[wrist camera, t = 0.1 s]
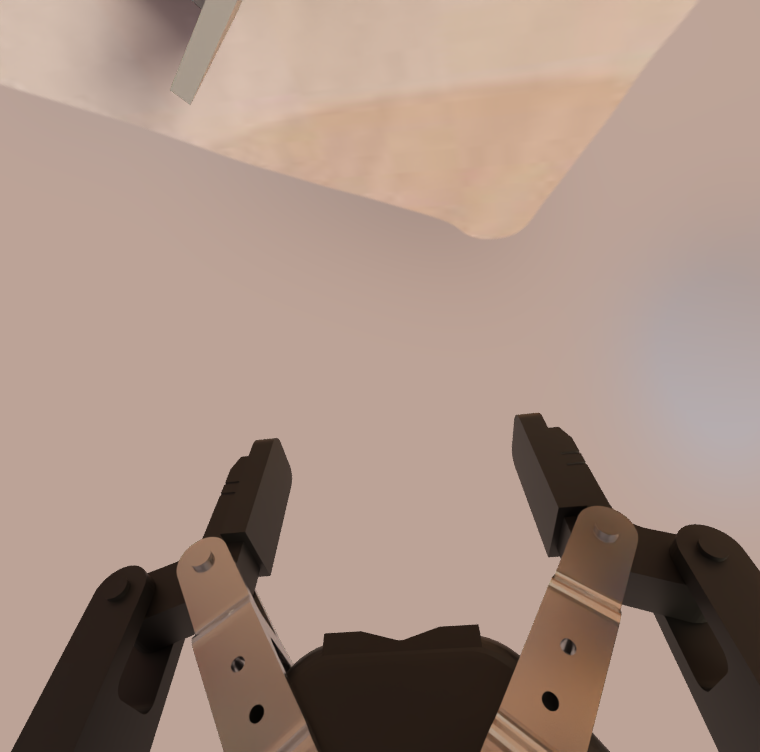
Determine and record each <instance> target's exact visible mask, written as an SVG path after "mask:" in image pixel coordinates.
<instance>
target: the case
mask: <svg viewBox="0 0 760 752" xmlns="http://www.w3.org/2000/svg"><path fill="white" fill-rule="evenodd" d="M191 1H192V2H194V3H195V4H196V5H197V6H198V7H199V8H200V9H202V10H201V13H200V16H199V18H198V21H197V23H196V26H195V28H194V31H193V33H192V36H191V38H190V41H189V43H188V46H187V48H186V51H185V53H184V56H183V58H182V61H181V63H180V66H179V68H178V71H177V73H176V76H175V78H174V81H173V83H172V86H171V88H170V91H172V92H173V93H174V94H176V95H177V96H179V97H180V98H181V99H183V100H184V101H185V102H187V103H188V104H189V105H191V103H192V101H193V99H194V97H195V95H196V93H197V91H198V89H199V87H200V85H201V83H202V81H203V79H204V77H205V75H206V73H207V71H208V69H209V67H210V65H211V63H212V61H213V59H214V57H215V55H216V53H217V51H218V49H219V47H220V45H221V43H222V41H223V39H224V38H225V36H226V34H227V32H228V30H229V28H230V26H231V24H232V22H233V20H234V18H235V15H236V13H237V11H238V9H239V7H240V4H241V2H242V0H191Z"/></svg>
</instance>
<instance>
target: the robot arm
mask: <svg viewBox="0 0 760 752" xmlns="http://www.w3.org/2000/svg"><path fill="white" fill-rule="evenodd" d="M512 456H513V461H514V465H515V468H516V470H517V473H518V476H519V479H520V481H521V484H522V487H523V489H524V492H525V495H526V498H527V501H528V503H529V506H530V509H531V511H532V514H533V517H534V520H535V522H536V525H537V528H538V531H539V533H540V536H541V539H542V541H543V544H544V547H545V550H546V552H547V555H548V557H558V556H560V558H561V560H560V563H559V565H558V568H557V570H556V573H555V575H554V576H553V577H552V579H551V581H550V583H549V585H548V588H547V590H546V593H545V595H544V598H543V600H542V603H541V605H540V608H539V610H538V613H537V615H536V618H535V620H534V623H533V625H532V628H531V630H530V633H529V635H528V638H527V640H526V643H525V645H524V648H523V650H522V653H521V655H518V654H517V653H516V652H514V651H513V650H511V649H510V648H508V647H507V646H505V645H503V644H501V643H499V642H497V641H495V640H492V639H490V638H486V637H482V636H480V631H479V626H478V625H462V626H445V627H438V628H435V629H432V630H429V631H427V632H424V633H421V634H419V635H416V636H413V637H410V638H408V639H405V640H394V639H390V638H386V637H382V636H378V635H374V634H370V633H366V632H361V631H360V632H344V633H326V634H324V642H323V646H321V647H318V648H316V649H315V650H313V651H311V652H309V653H308V654H306V655H305V656H303V657H302V658H301V659H299V660H298V661H297V662H296V663H295V664H294V665H293V663H292V661H291V659H290V657H289V655H288V654H287V652H286V650H285V648H284V646H283V645H282V643H281V641H280V639H279V637H278V635H277V633H276V631H275V629H274V627H273V625H272V622H271V620H270V618H269V616H268V614H267V612H266V610H265V608H264V606H263V604H262V602H261V600H260V598H259V596H258V594H257V592H256V590H255V587H256V583H257V579H258V577H261V576H270V575H271V571H272V567H273V562H274V558H275V554H276V549H277V545H278V541H279V536H280V532H281V527H282V523H283V519H284V515H285V510H286V506H287V502H288V497H289V493H290V489H291V484H292V473H291V468H290V465H289V463H288V460H287V458H286V455H285V453H284V450H283V448H282V445H281V442H280V440H279V439H278V438H274V439H264V440H256V441H255V442H254V443H253V446H252V448H251V451H250V454H249V456H245V457H241V458H240V459H239V460H238V461H237V462H236V464H235V465H234V466H233V467H232V468H231V470H230V472H229V475H228V477H227V480H226V485H224V487H223V490H222V492H221V496H220V497H219V499H218V502H217V505H216V507H215V509H214V512H213V514H212V517H211V519H210V522H209V524H208V527H207V529H206V531H205V534H204V536H203V538H202V539H201V540H199V541H197V542H196V543H194V544H193V545H191V546H190V547H189V548H188V549H187V550H186V551H185V552H184V554H183V555H182V556H181V558H180V560H179V561H178V562H176V563H173V564H170V565H168V566H165V567H163V568H160V569H158V570H155V571H152V572H150V573H146V571H145V570H144V569H143V568H141V567H139V566H127V567H124V568H122V569H120V570H118V571H116V572H114V573H113V574H111V575H110V576H109V577H108V578H106V579H105V580H104V581H103V583H102V584H101V585H100V586H99V587H98V588H97V590H96V592H95V593H94V595H93V597H92V599H91V601H90V603H89V604H88V606H87V608H86V610H85V612H84V614H83V616H82V618H81V620H80V622H79V623H78V625H77V627H76V629H75V631H74V633H73V635H72V637H71V639H70V641H69V643H68V645H67V646H66V648H65V650H64V652H63V654H62V656H61V658H60V660H59V662H58V663H57V665H56V667H55V669H54V671H53V673H52V675H51V677H50V679H49V681H48V682H47V684H46V686H45V688H44V690H43V692H42V694H41V696H40V698H39V700H38V701H37V704H36V705H35V707H34V709H33V711H32V713H31V715H30V717H29V719H28V720H27V722H26V724H25V726H24V728H23V730H22V732H21V734H20V736H19V738H18V739H17V742H16V743H15V745H14V747H13V749H12V751H11V752H150V749H151V746H152V743H153V740H154V736H155V733H156V730H157V727H158V724H159V721H160V717H161V714H162V711H163V707H164V705H165V701H166V698H167V695H168V692H169V688H170V685H171V682H172V679H173V676H174V672H175V669H176V666H177V663H178V660H179V656H180V653H181V650H182V647H183V643H184V640H185V638H187V637H190V636H192V635H194V634H195V636H194V637H193V638H192V647H193V651H194V654H195V657H196V661H197V664H198V667H199V671H200V674H201V677H202V681H203V684H204V687H205V691H206V693H207V697H208V700H209V704H210V707H211V710H212V714H213V717H214V721H215V724H216V727H217V731H218V734H219V737H220V741H221V744H222V747H223V750H224V752H610V751H609V750H608V749H607V748H606V747H605V746H604V745H603V744H602V743H601V741H600V740H598V738H597V737H596V736H595V735H594V734H593V733H592V731H593V727H594V723H595V719H596V715H597V711H598V707H599V703H600V699H601V695H602V691H603V687H604V683H605V679H606V675H607V671H608V667H609V664H610V660H611V656H612V652H613V648H614V644H615V640H616V636H617V632H618V628H619V624H620V619H621V606H622V605H627V606H630V607H634V608H638V609H641V610H645V611H649V612H653V613H654V615H655V617H656V619H657V621H658V623H659V626H660V628H661V630H662V632H663V634H664V636H665V638H666V641H667V643H668V645H669V647H670V649H671V651H672V653H673V655H674V657H675V660H676V661H677V664H678V666H679V668H680V670H681V672H682V675H683V676H684V679H685V681H686V683H687V685H688V687H689V689H690V692H691V694H692V696H693V698H694V700H695V702H696V704H697V706H698V708H699V711H700V713H701V715H702V717H703V719H704V721H705V723H706V725H707V728H708V730H709V732H710V734H711V736H712V738H713V740H714V742H715V745H716V747H717V749H718V751H719V752H760V571H759V570H758V568H757V567H756V566H755V564H754V563H753V562H752V560H751V559H750V557H749V556H748V555H747V553H746V552H745V551H744V550H743V548H742V547H741V546H740V545H739V544H738V543H737V542H736V541H735V540H734V539H732V538H731V537H730V536H728V535H727V534H725V533H723V532H721V531H719V530H717V529H715V528H712V527H709V526H705V525H696V524H694V525H688V526H685V527H683V528H681V529H680V530H679V531H678V533H677V534H671V533H667V532H661V531H656V530H651V529H647V528H643V527H640V526H637V525H635V524H632V522H631V521H630V520H629V519H628V518H627V517H626V516H624V515H623V514H621V513H620V512H618V511H616V510H614V509H613V508H612V507H611V506H610V504H609V502H608V501H607V499H606V497H605V495H604V494H603V492H602V490H601V488H600V487H599V485H598V483H597V481H596V480H595V478H594V476H593V474H592V472H591V471H590V469H589V467H588V465H587V464H586V463H585V460H584V459H583V457H582V455H581V453H579V450H578V448H577V446H576V444H575V442H574V441H573V439H572V437H570V436H569V435H568V434H567V433H565V432H564V431H563V430H562V429H561V428H559V427H553V428H548V427H547V425H546V423H545V421H544V419H543V417H542V415H541V414H540V413H531V414H521V415H516V416H515V419H514V431H513V441H512Z"/></svg>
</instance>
